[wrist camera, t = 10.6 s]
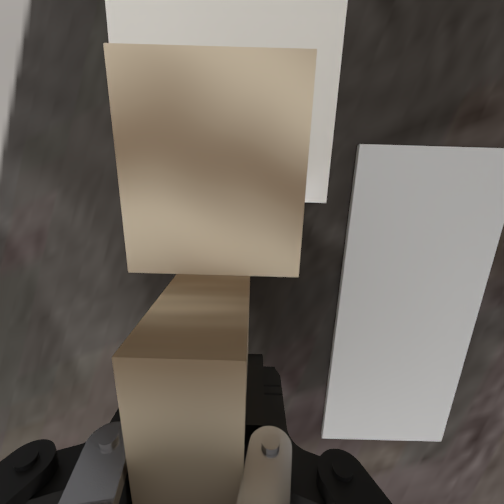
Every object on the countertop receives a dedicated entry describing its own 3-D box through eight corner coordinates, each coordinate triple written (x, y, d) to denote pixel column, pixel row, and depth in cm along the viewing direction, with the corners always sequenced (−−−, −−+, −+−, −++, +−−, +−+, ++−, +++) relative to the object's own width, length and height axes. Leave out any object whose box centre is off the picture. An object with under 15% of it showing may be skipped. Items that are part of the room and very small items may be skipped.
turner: (280, 470, 15) (296, 654, 9) (156, 466, 15) (95, 648, 9) (312, 59, 9) (402, -122, 4) (115, 53, 9) (-100, -135, 4)
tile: (317, 200, 18) (334, 22, 15) (326, 202, 16) (348, -4, 13) (138, 193, 18) (124, 14, 15) (123, 195, 16) (104, -12, 13)
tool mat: (518, 149, 16) (525, 148, 16) (438, 437, 23) (441, 441, 22) (357, 144, 16) (359, 144, 16) (320, 433, 23) (322, 438, 22)
